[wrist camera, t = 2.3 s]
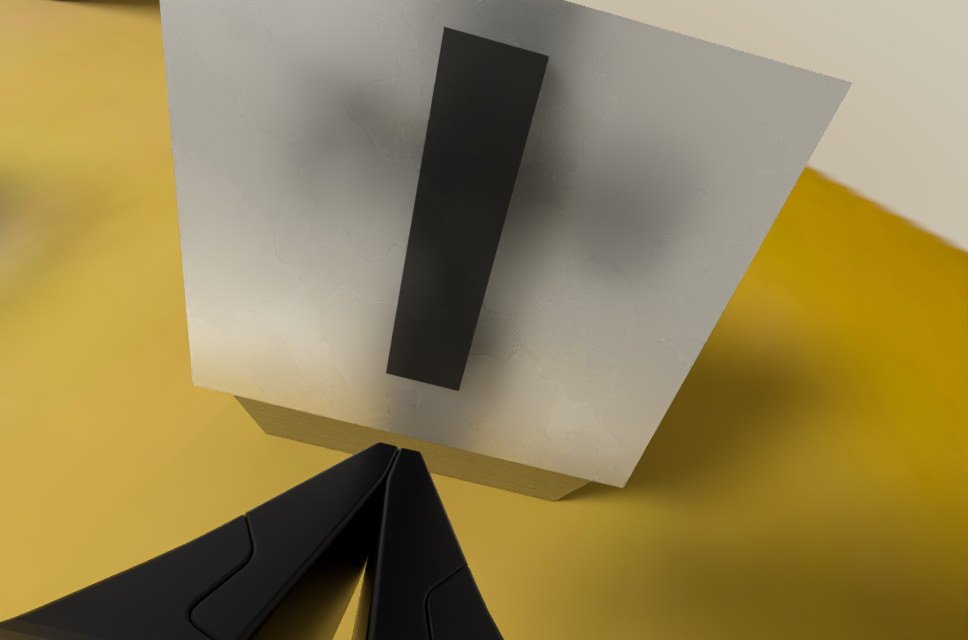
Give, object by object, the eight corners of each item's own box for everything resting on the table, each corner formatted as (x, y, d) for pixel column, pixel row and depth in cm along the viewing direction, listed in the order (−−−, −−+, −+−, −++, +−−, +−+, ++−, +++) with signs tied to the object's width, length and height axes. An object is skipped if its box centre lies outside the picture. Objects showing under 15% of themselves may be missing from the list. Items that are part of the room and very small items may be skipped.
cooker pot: (585, 509, 22) (656, 480, 16) (231, 425, 21) (167, 362, 15) (599, 306, 28) (653, 231, 22) (326, 235, 28) (307, 138, 22)
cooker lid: (617, 465, 16) (629, 514, 14) (212, 366, 15) (170, 405, 13) (823, 82, 10) (887, 83, 8) (184, -101, 9) (106, -141, 8)
